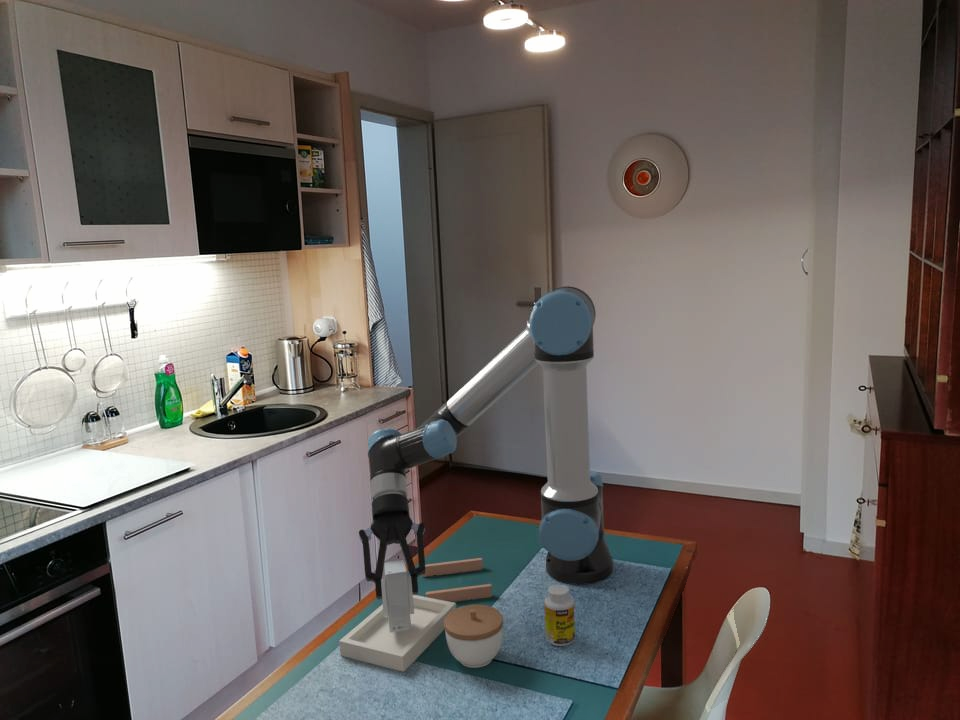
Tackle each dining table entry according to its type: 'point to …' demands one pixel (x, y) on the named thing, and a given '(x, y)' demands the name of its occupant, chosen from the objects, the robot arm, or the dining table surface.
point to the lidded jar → (474, 634)
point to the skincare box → (397, 595)
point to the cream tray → (396, 635)
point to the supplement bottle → (559, 616)
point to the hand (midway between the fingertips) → (398, 613)
